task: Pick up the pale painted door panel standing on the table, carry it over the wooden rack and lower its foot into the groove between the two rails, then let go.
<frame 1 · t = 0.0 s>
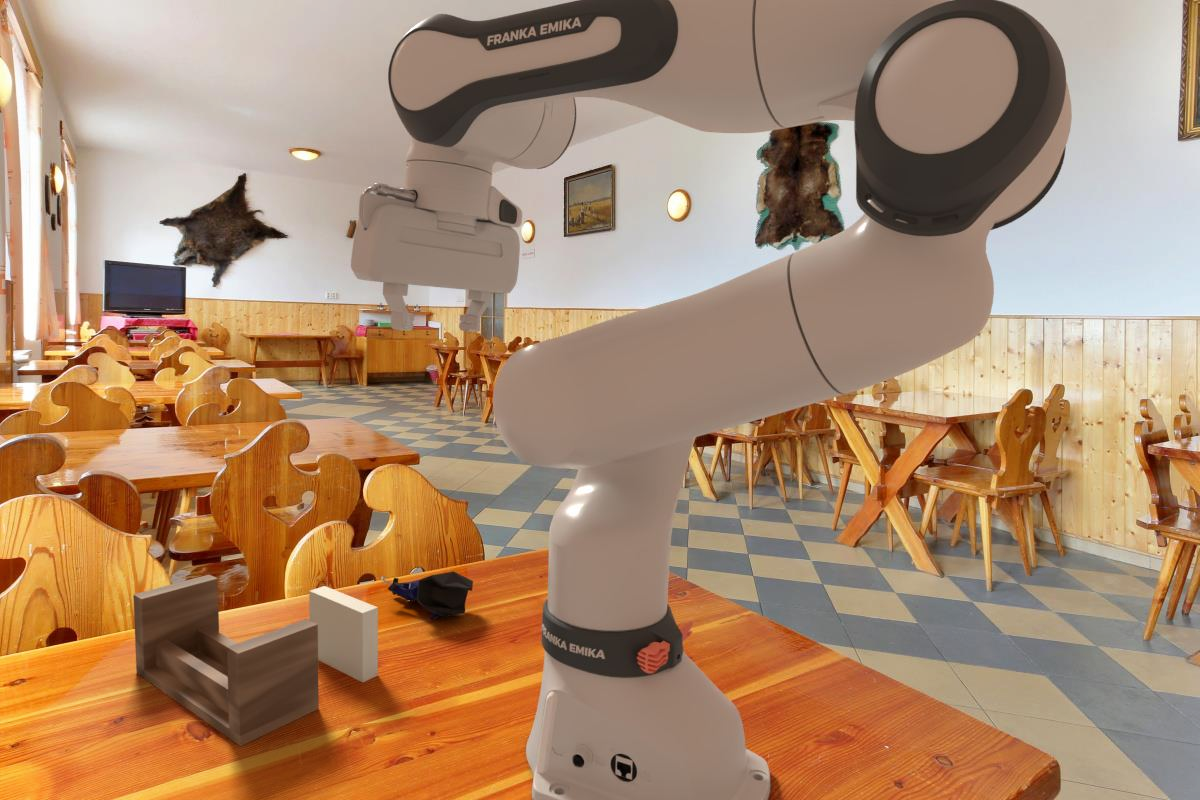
hand: (437, 330, 74), 39 cm above the table, tool pointing down, fingers open, 8 cm apart
door panel: (343, 665, 79), on the table
wooden rack: (223, 690, 73), on the table
toy: (427, 610, 96), on the table
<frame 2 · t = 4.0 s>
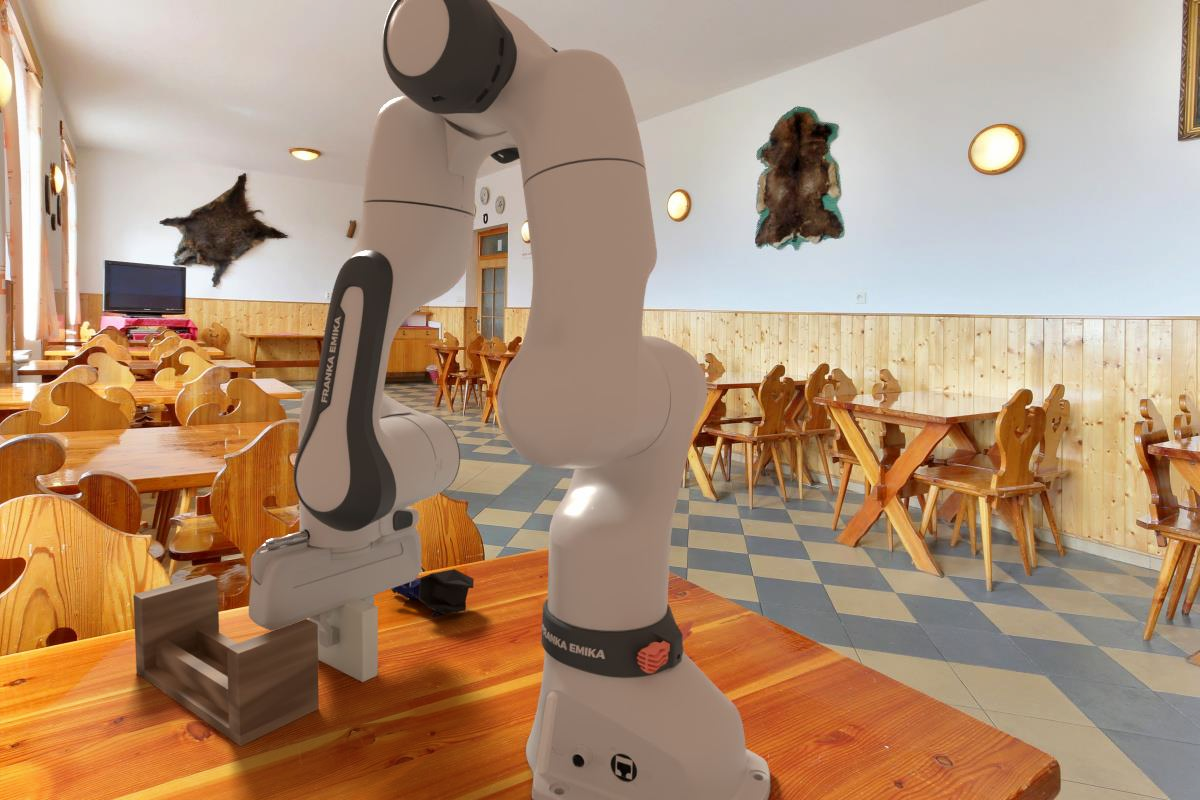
hand: (342, 639, 79), 3 cm above the table, tool pointing down, fingers closed on door panel, 2 cm apart
door panel: (342, 665, 79), on the table, touching gripper
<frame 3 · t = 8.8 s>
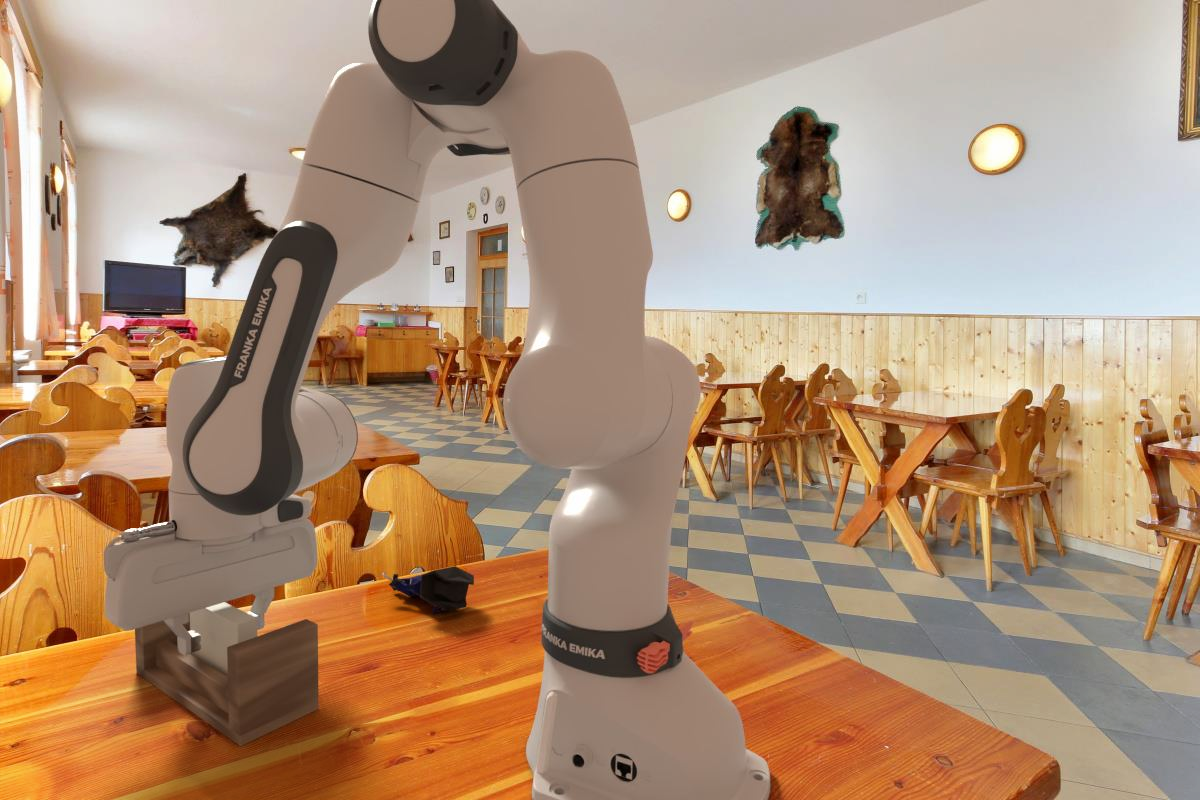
hand: (222, 639, 73), 6 cm above the table, tool pointing down, fingers open, 5 cm apart
door panel: (224, 680, 73), point 1 cm above the table, touching wooden rack
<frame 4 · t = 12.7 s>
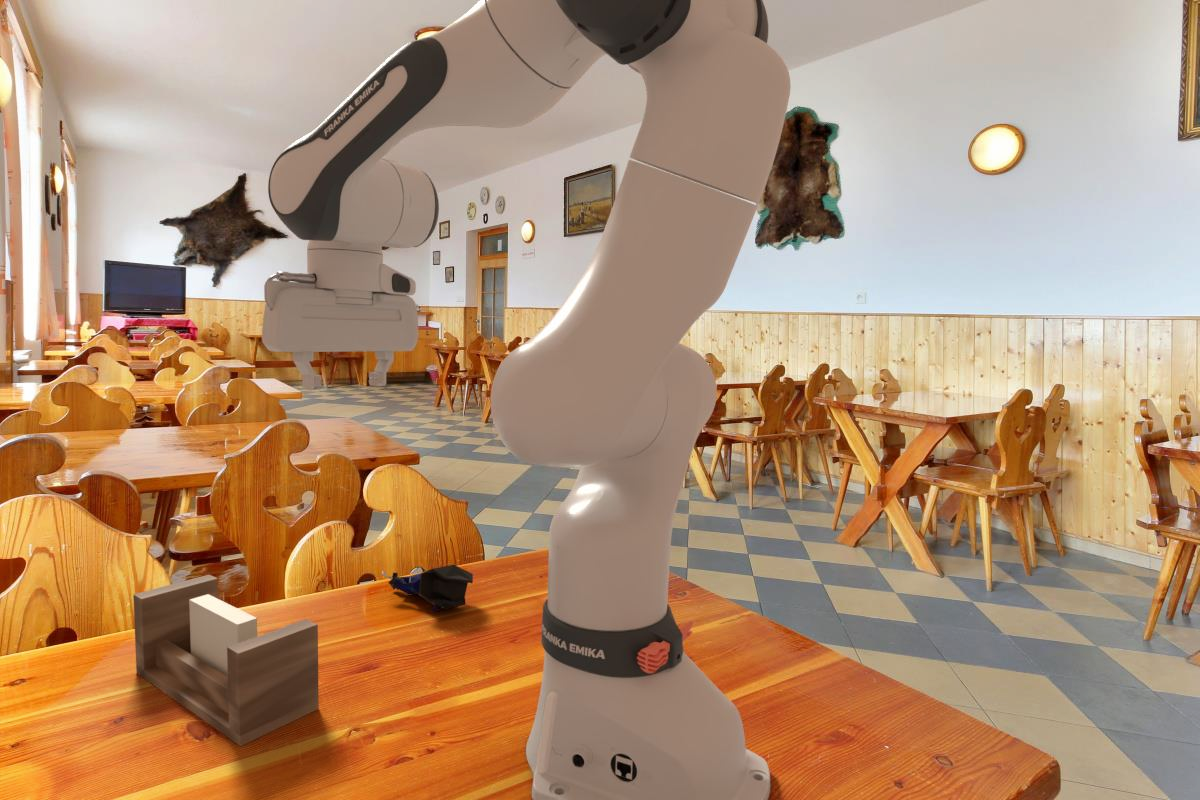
hand: (346, 387, 87), 31 cm above the table, tool pointing down, fingers open, 8 cm apart
at the end: door panel inside the target area on the wooden rack (0.0 cm from its centre), point 1.0 cm above the wooden rack's base; door panel tilted 0°; the gripper is holding nothing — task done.
